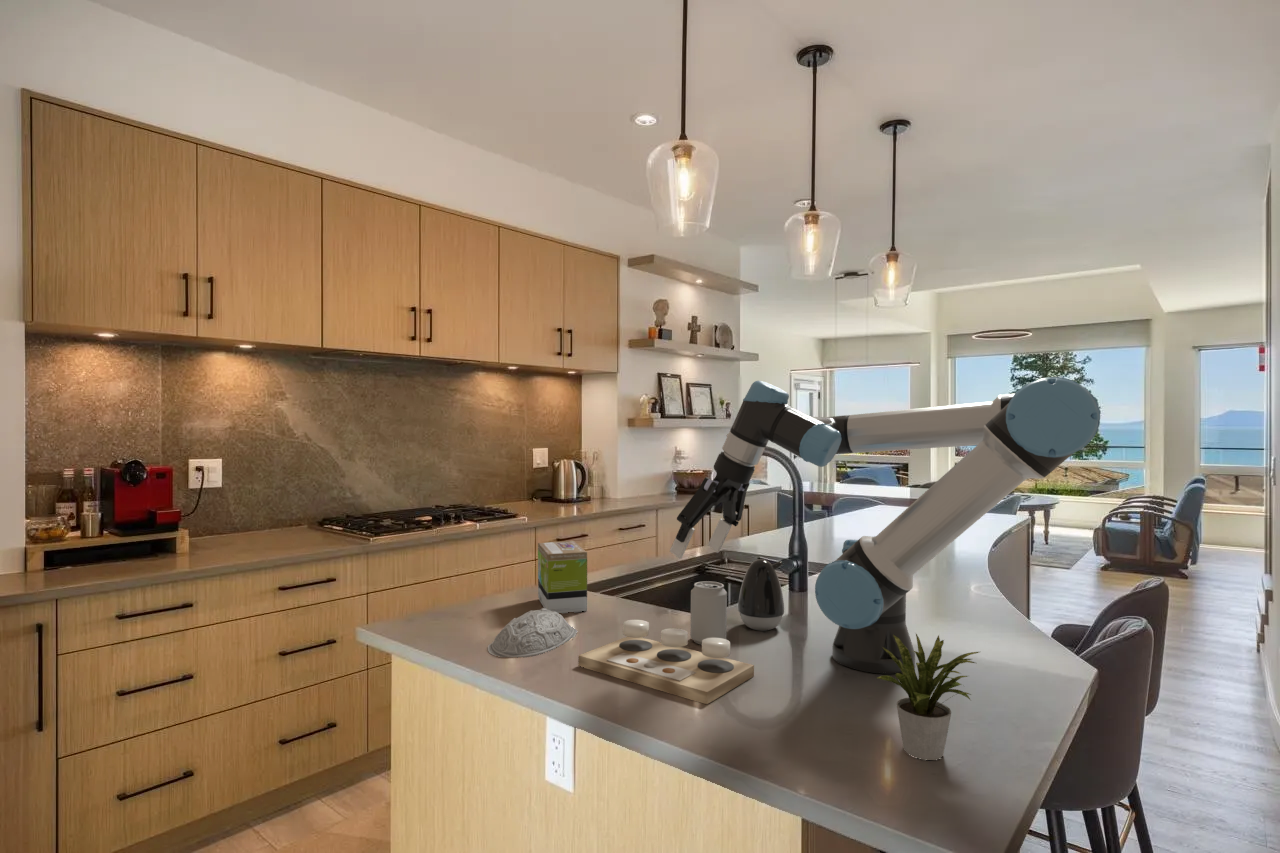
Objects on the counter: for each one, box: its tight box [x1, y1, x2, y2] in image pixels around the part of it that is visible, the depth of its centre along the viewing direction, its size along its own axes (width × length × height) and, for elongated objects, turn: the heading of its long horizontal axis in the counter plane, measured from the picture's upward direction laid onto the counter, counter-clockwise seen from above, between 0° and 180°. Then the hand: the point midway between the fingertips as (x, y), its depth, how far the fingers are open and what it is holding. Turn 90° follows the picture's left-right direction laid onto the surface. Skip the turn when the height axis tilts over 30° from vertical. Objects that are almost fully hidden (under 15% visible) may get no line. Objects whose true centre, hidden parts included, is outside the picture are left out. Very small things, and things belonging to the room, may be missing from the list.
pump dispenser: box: [737, 558, 785, 632], centre depth 155 cm, size 10×10×15 cm
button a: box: [701, 638, 731, 658], centre depth 124 cm, size 5×5×2 cm
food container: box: [487, 607, 579, 659], centre depth 144 cm, size 16×25×7 cm, turn 162°
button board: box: [577, 636, 755, 705], centre depth 127 cm, size 28×16×2 cm, turn 53°
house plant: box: [877, 633, 980, 761], centre depth 95 cm, size 14×14×16 cm
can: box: [689, 580, 728, 646], centre depth 144 cm, size 8×8×12 cm
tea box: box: [537, 540, 588, 614], centre depth 171 cm, size 15×10×15 cm
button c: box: [622, 619, 650, 638], centre depth 135 cm, size 5×5×2 cm
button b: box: [660, 627, 689, 648], centre depth 129 cm, size 5×5×2 cm
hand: (694, 552), depth 139 cm, fingers open, 13 cm apart
